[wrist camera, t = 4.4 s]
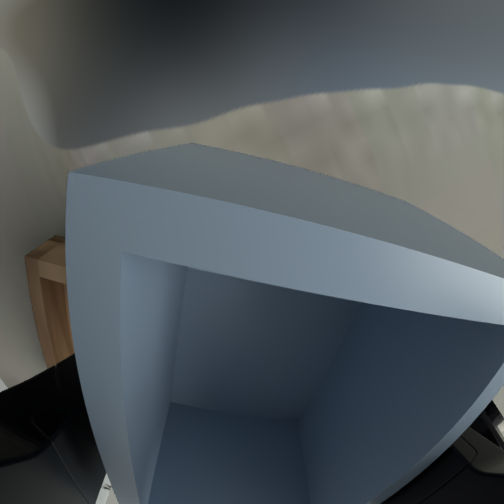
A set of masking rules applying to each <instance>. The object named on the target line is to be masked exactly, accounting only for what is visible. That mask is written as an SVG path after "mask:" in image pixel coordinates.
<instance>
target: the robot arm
mask: <svg viewBox="0 0 504 504" xmlns="http://www.w3.org/2000/svg"><path fill="white" fill-rule="evenodd" d="M503 420H504V418H503V416H502V414H501V413H500V411H499V410H498V408H497V407H496V405H495V404H494V402H493V401H492V400H491V401H490V403H489V404H488V405H487V406H486V408H485V409H484V410H483V411H482V412H481V413H480V415H479V416H478V417H477V418H476V419H475V420H474V421H473V423H472V424H471V425H470V426H469V427H468V428H467V429H466V430H465V431H464V432H463V433H462V434H461V436H460V437H459V438H458V439H457V440H456V441H455V442H454V443H453V444H452V445H451V446H450V447H449V448H448V449H447V450H445V451H444V452H443V453H442V454H441V455H440V456H439V457H438V458H437V459H436V460H435V461H434V462H433V463H431V464H430V465H429V466H428V467H427V468H426V469H425V470H423V471H422V472H421V473H420V474H419V475H417V476H416V477H415V478H414V479H413V480H411V481H410V482H409V483H408V484H406V485H405V486H404V487H402V488H401V489H400V490H398V491H397V492H396V493H394V494H393V495H392V496H390V497H389V498H388V499H386V500H385V501H383V502H382V503H380V504H504V437H503V435H502V434H501V432H500V430H499V429H498V427H497V426H498V425H499V424H500V423H501V422H502V421H503ZM105 476H106V470H105V467H104V465H103V462H102V459H101V456H100V453H99V450H98V447H97V444H96V441H95V438H94V434H93V431H92V427H91V424H90V420H89V417H88V413H87V409H86V405H85V401H84V397H83V392H82V388H81V383H80V378H79V374H78V368H77V363H76V357H75V353H74V354H72V355H71V356H69V357H67V358H65V359H64V360H62V361H60V362H59V363H57V364H56V366H55V365H53V366H52V367H50V368H48V369H46V370H45V371H43V372H41V373H39V374H37V375H36V376H34V377H32V378H30V379H28V380H26V381H24V382H22V383H20V384H18V385H15V386H13V387H11V388H9V389H6V390H4V391H2V392H0V504H95V503H96V500H97V498H98V495H99V492H100V489H101V486H102V484H103V481H104V478H105Z"/></svg>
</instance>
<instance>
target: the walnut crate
mask: <svg viewBox="0 0 504 504" xmlns="http://www.w3.org/2000/svg"><path fill="white" fill-rule="evenodd" d="M25 263H26V271H27V278H28V285H29V291H30V297H31V303H32V308H33V313H34V318H35V322H36V327H37V331H38V335H39V339H40V343H41V347H42V351H43V354H44V358H45V361H46V365H47V368H50V367H52V366H53V365H55V366H56V364H57V363H59V362H60V361H62V360H64V359H65V358H67V357H69V356H71V355H72V354H74V353H75V351H74V345H73V338H72V331H71V323H70V314H69V305H68V293H67V278H66V253H65V237H60V236H56V235H55V236H54V237H52V238H51V239H49V240H48V241H46V242H45V243H43V244H42V245H40V246H39V247H37V248H36V249H34V250H33V251H31V252H30V253H28V254H27V255H26V256H25Z"/></svg>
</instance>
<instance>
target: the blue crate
mask: <svg viewBox="0 0 504 504" xmlns="http://www.w3.org/2000/svg"><path fill="white" fill-rule="evenodd" d="M65 253H66V278H67V293H68V305H69V314H70V323H71V331H72V338H73V345H74V351H75V357H76V363H77V368H78V374H79V378H80V383H81V388H82V392H83V397H84V401H85V405H86V409H87V413H88V417H89V420H90V424H91V427H92V431H93V434H94V438H95V441H96V444H97V447H98V450H99V453H100V456H101V459H102V462H103V465H104V467H105V470H106V473H107V476H108V478H109V481H110V483H111V486H112V488H113V490H114V493H115V495H116V498H117V500H118V502H119V504H380V503H382V502H383V501H385V500H386V499H388V498H389V497H390V496H392V495H393V494H394V493H396V492H397V491H398V490H400V489H401V488H402V487H404V486H405V485H406V484H408V483H409V482H410V481H411V480H413V479H414V478H415V477H416V476H417V475H419V474H420V473H421V472H422V471H423V470H425V469H426V468H427V467H428V466H429V465H430V464H431V463H433V462H434V461H435V460H436V459H437V458H438V457H439V456H440V455H441V454H442V453H443V452H444V451H445V450H447V449H448V448H449V447H450V446H451V445H452V444H453V443H454V442H455V441H456V440H457V439H458V438H459V437H460V436H461V434H462V433H463V432H464V431H465V430H466V429H467V428H468V427H469V426H470V425H471V424H472V423H473V421H474V420H475V419H476V418H477V417H478V416H479V415H480V413H481V412H482V411H483V410H484V409H485V408H486V406H487V405H488V404H489V403H490V401H491V400H492V399H493V398H494V396H495V395H496V394H497V393H498V391H499V390H500V389H501V387H502V386H503V385H504V259H503V258H501V257H500V256H498V255H497V254H495V253H494V252H492V251H491V250H489V249H488V248H486V247H485V246H483V245H482V244H480V243H478V242H477V241H475V240H474V239H472V238H470V237H469V236H467V235H465V234H464V233H462V232H460V231H459V230H457V229H455V228H454V227H452V226H450V225H448V224H447V223H445V222H443V221H441V220H440V219H438V218H436V217H434V216H433V215H431V214H429V213H427V212H425V211H423V210H421V209H420V208H418V207H416V206H414V205H412V204H410V203H408V202H406V201H404V200H401V199H398V198H395V197H392V196H390V195H387V194H384V193H381V192H378V191H375V190H372V189H369V188H366V187H363V186H360V185H357V184H354V183H351V182H347V181H344V180H341V179H338V178H334V177H331V176H328V175H324V174H321V173H317V172H314V171H310V170H307V169H303V168H299V167H296V166H292V165H288V164H284V163H281V162H277V161H273V160H269V159H265V158H260V157H256V156H252V155H248V154H243V153H239V152H234V151H230V150H225V149H220V148H215V147H211V146H206V145H200V144H195V143H189V144H184V145H178V146H173V147H167V148H162V149H157V150H153V151H148V152H143V153H139V154H134V155H130V156H126V157H121V158H117V159H113V160H109V161H105V162H102V163H98V164H94V165H91V166H87V167H83V168H80V169H76V170H73V171H70V172H68V182H67V197H66V222H65Z"/></svg>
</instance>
